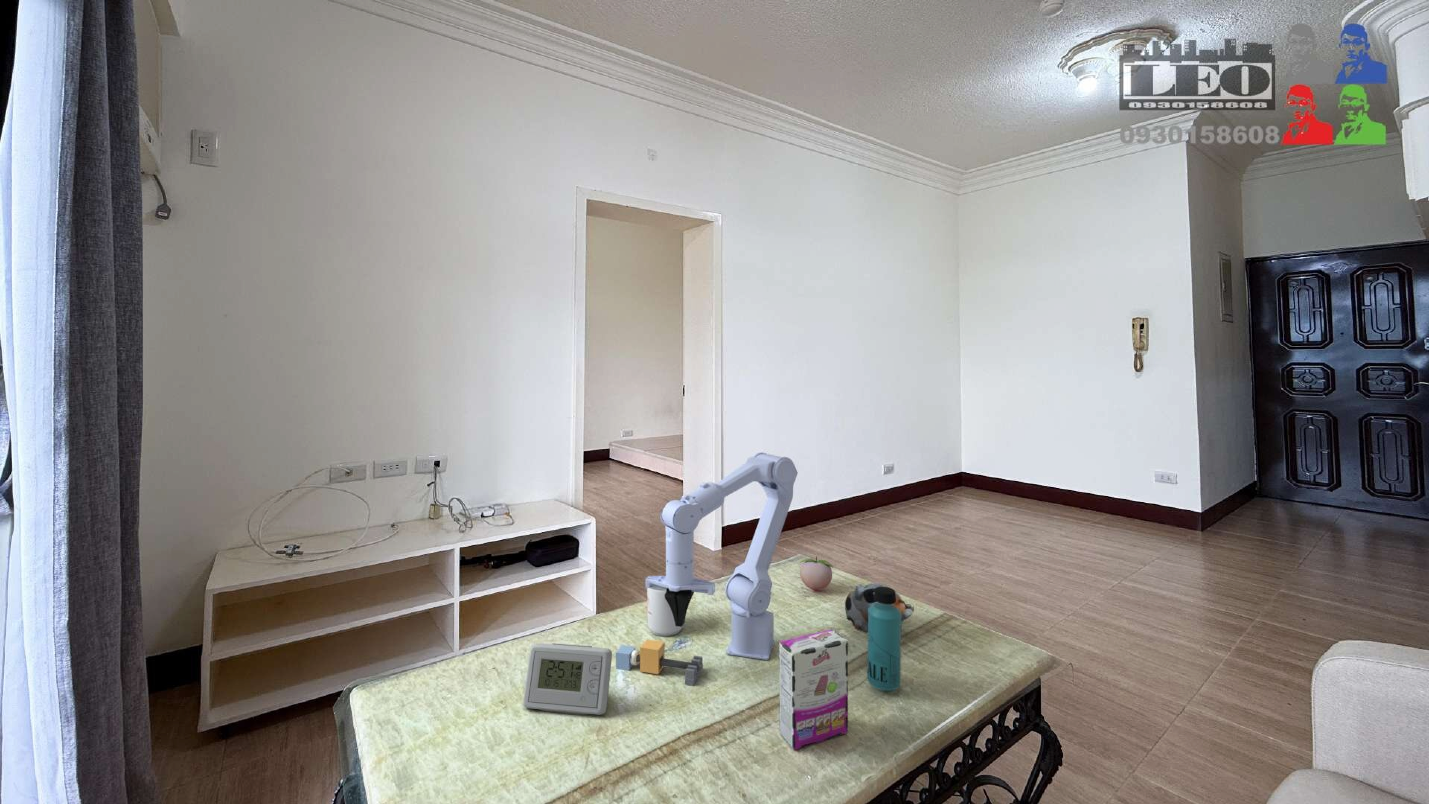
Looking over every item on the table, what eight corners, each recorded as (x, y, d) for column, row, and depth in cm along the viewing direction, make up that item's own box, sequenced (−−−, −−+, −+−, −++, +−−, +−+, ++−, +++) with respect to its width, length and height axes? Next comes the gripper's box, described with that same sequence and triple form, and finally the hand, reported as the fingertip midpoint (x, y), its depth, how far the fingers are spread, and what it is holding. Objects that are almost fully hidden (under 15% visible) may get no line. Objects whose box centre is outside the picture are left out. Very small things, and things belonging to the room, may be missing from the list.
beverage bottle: (900, 683, 107) (902, 584, 106) (901, 702, 101) (903, 597, 100) (867, 677, 109) (868, 580, 108) (865, 695, 103) (866, 593, 102)
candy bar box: (831, 717, 96) (832, 627, 95) (848, 734, 92) (850, 640, 91) (777, 733, 92) (777, 639, 91) (792, 752, 87) (793, 653, 86)
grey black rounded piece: (905, 617, 136) (922, 580, 129) (898, 655, 127) (915, 617, 119) (848, 592, 141) (861, 555, 134) (836, 627, 131) (849, 589, 124)
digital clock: (517, 709, 98) (516, 653, 98) (548, 683, 107) (547, 631, 106) (594, 729, 93) (593, 669, 92) (620, 699, 101) (619, 644, 101)
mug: (689, 633, 127) (689, 587, 127) (653, 640, 124) (653, 593, 123) (672, 613, 138) (672, 570, 138) (639, 619, 135) (639, 575, 134)
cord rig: (702, 669, 112) (702, 653, 112) (693, 685, 106) (693, 669, 106) (625, 656, 117) (625, 641, 117) (612, 672, 111) (612, 656, 110)
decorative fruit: (799, 596, 149) (799, 560, 149) (799, 584, 157) (799, 551, 157) (833, 598, 148) (834, 562, 147) (832, 587, 156) (832, 553, 155)
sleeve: (664, 665, 113) (664, 642, 112) (658, 674, 109) (658, 650, 109) (646, 662, 114) (646, 639, 114) (640, 671, 110) (640, 647, 110)
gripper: (639, 563, 108) (639, 628, 109) (708, 569, 104) (708, 637, 105) (652, 551, 115) (652, 613, 116) (717, 557, 111) (717, 621, 112)
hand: (680, 624), depth 111 cm, fingers closed
